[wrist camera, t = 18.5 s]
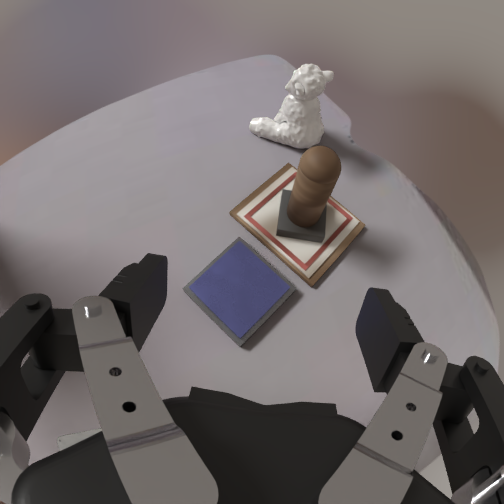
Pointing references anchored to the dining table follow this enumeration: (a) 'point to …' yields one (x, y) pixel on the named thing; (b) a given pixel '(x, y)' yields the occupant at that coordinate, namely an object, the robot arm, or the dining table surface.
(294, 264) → the framed board
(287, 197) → the stamp
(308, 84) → the seated beast figurine
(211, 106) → the dining table surface
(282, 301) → the ink pad
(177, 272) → the dining table surface
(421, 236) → the dining table surface
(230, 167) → the dining table surface
